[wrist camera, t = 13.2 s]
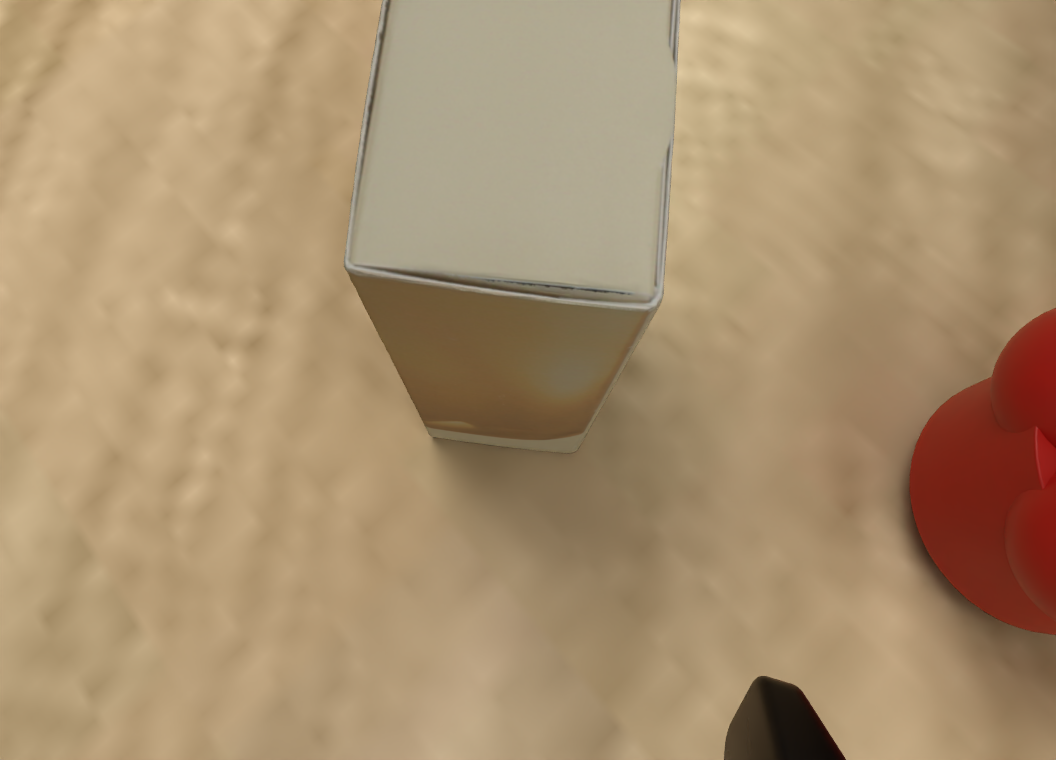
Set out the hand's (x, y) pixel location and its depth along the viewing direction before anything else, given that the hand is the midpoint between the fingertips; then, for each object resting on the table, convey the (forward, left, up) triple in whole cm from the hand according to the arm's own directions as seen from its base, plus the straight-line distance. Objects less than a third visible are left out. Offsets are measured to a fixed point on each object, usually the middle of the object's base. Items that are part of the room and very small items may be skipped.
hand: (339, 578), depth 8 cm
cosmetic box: (+7, +1, -13) cm, 15 cm away
